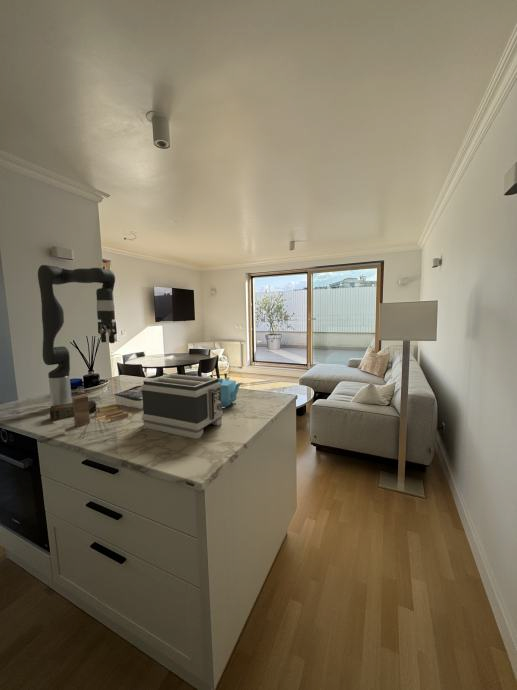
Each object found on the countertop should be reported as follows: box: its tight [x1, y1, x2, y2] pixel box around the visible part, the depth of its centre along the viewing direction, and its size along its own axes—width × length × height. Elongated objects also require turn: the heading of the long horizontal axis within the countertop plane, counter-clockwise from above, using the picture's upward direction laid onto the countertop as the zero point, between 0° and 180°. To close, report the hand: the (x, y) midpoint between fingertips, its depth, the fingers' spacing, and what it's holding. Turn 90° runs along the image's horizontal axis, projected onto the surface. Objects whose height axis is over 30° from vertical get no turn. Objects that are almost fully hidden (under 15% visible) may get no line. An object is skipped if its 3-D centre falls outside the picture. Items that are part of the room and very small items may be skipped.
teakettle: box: [218, 376, 244, 407], centre depth 153 cm, size 19×19×15 cm
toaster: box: [140, 373, 224, 440], centre depth 123 cm, size 18×34×21 cm, turn 65°
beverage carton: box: [49, 399, 98, 423], centre depth 139 cm, size 8×19×7 cm, turn 124°
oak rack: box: [90, 402, 135, 425], centre depth 135 cm, size 16×13×5 cm
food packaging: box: [112, 385, 143, 410], centre depth 157 cm, size 25×8×23 cm
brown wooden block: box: [72, 394, 91, 427], centre depth 125 cm, size 3×5×13 cm, turn 143°
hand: (107, 342), depth 140 cm, fingers open, 8 cm apart
